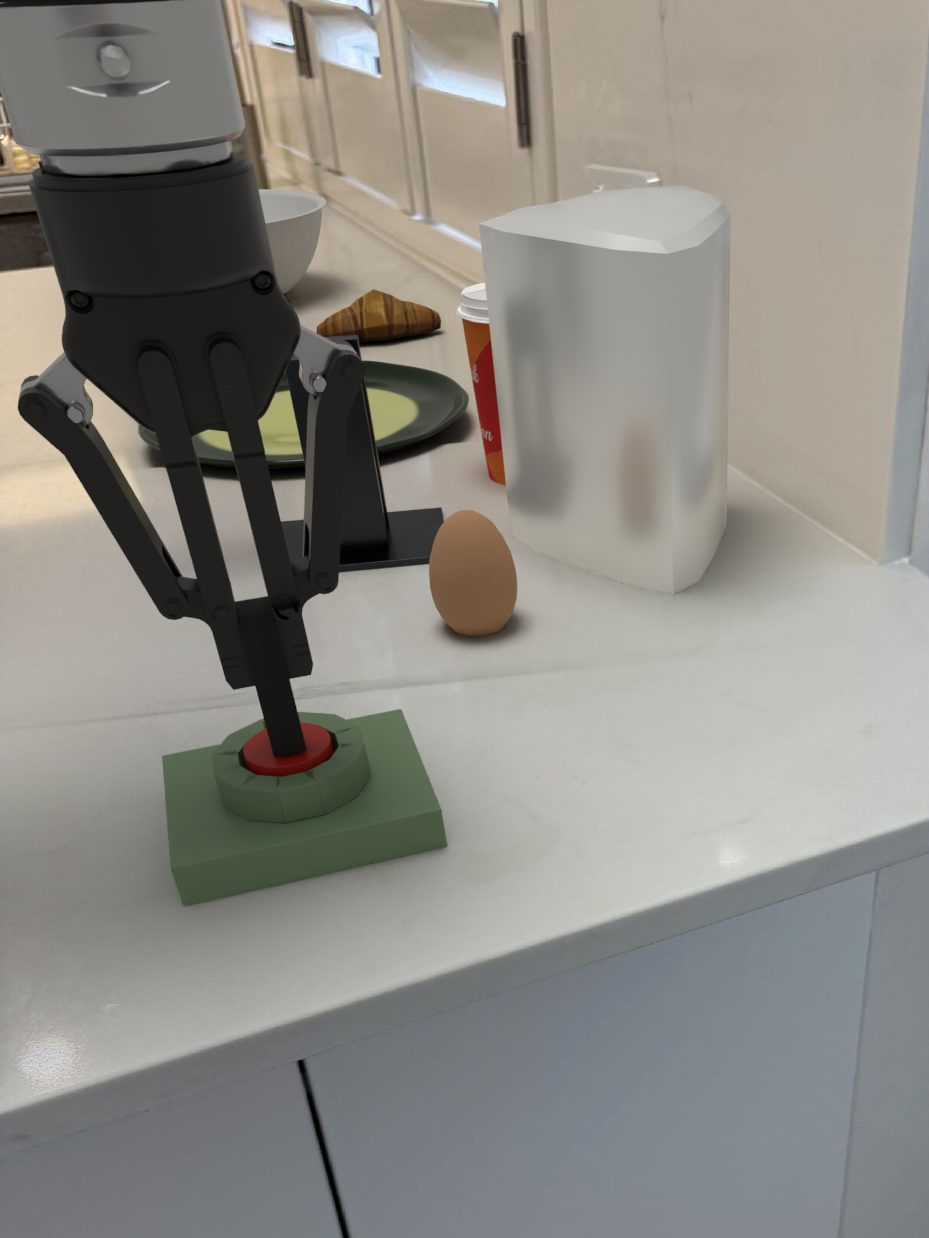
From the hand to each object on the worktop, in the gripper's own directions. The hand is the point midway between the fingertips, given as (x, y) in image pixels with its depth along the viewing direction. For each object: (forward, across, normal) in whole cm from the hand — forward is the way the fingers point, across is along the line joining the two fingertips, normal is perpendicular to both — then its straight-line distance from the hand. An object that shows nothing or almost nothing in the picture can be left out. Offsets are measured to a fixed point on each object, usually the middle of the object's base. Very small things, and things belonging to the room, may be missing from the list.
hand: (287, 739), depth 56 cm
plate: (+5, +8, +60) cm, 61 cm away
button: (+2, 0, 0) cm, 2 cm away
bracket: (+5, +8, +31) cm, 33 cm away
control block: (+5, 0, 0) cm, 5 cm away
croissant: (+5, +19, +89) cm, 92 cm away
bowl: (+5, +5, +115) cm, 115 cm away
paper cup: (+5, +22, +40) cm, 46 cm away
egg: (+5, +12, +16) cm, 21 cm away
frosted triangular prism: (+5, +27, +25) cm, 37 cm away
